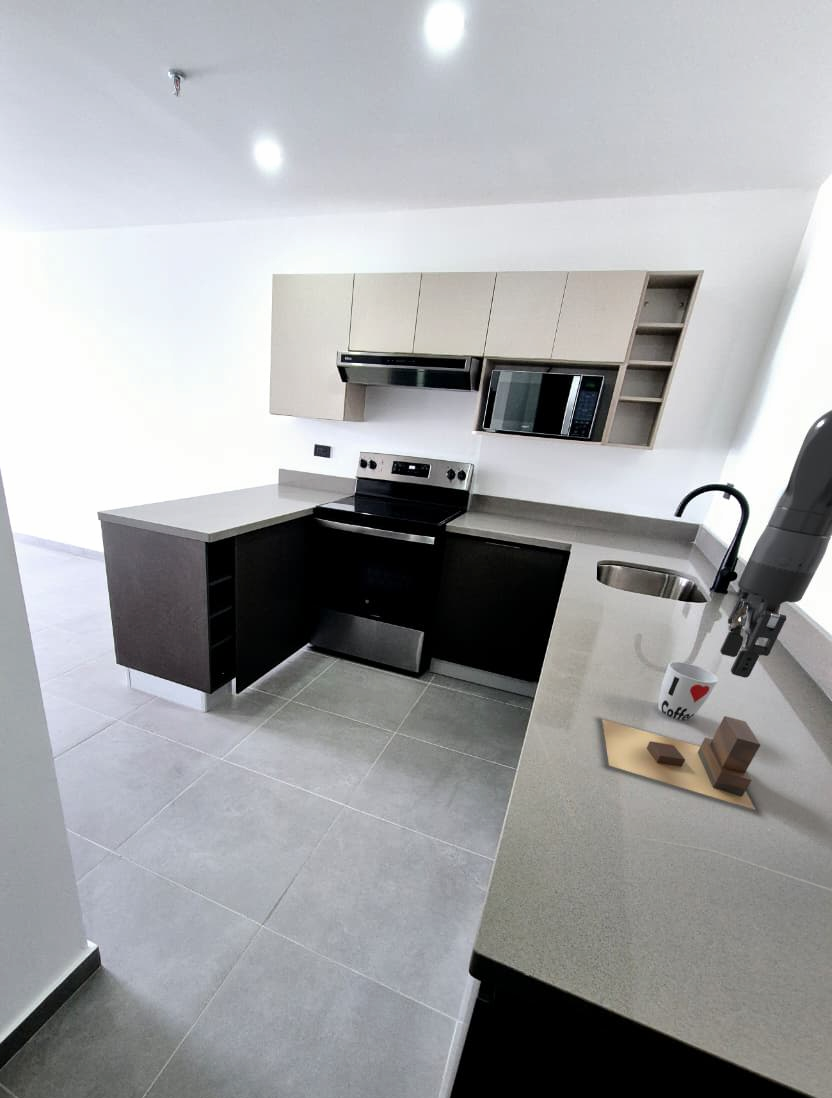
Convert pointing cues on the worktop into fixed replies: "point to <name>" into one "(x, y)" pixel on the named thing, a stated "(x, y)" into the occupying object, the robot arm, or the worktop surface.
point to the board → (634, 757)
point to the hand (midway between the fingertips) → (732, 664)
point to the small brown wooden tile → (665, 754)
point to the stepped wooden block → (729, 756)
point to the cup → (685, 690)
